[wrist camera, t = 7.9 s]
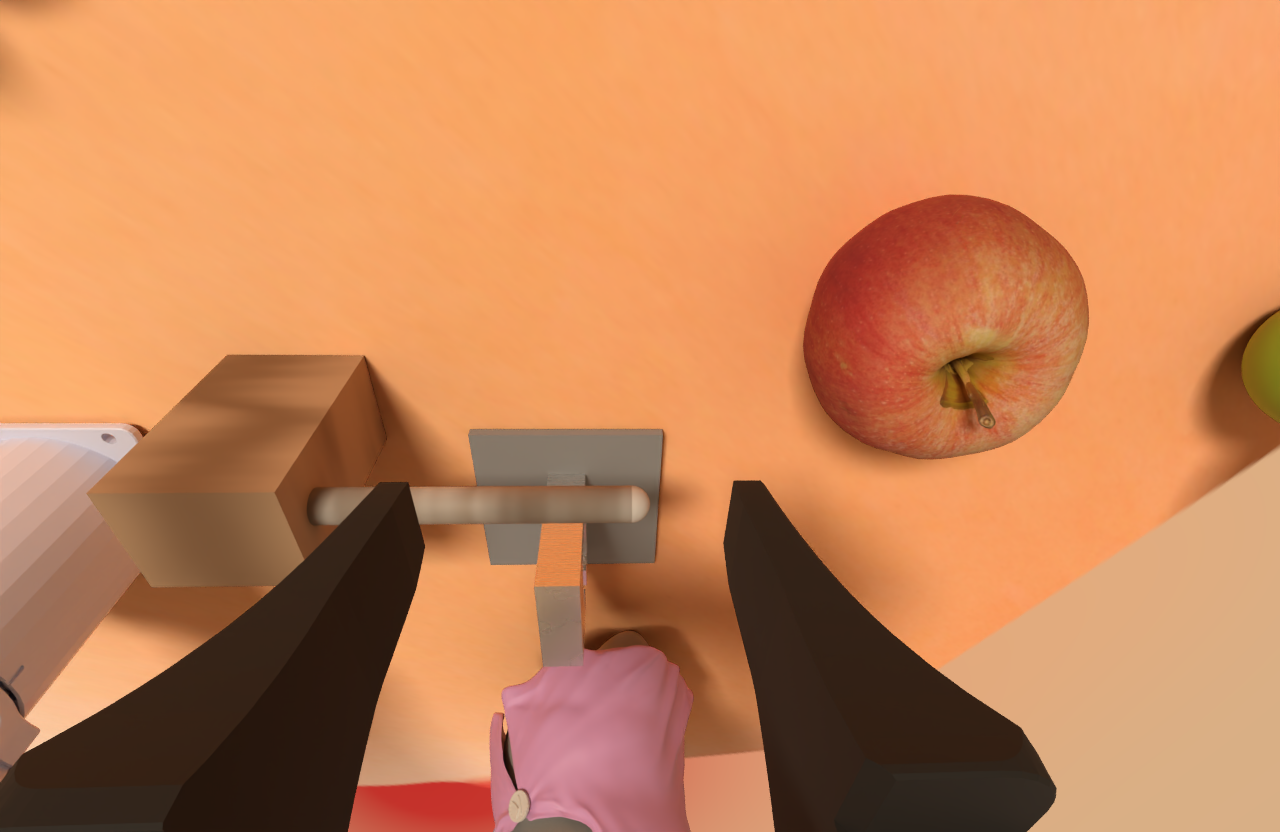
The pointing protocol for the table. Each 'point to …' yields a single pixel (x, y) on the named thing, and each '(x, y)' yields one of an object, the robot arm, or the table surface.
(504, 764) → the toy character
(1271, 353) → the snail figurine
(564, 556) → the link
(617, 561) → the mat
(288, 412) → the stand
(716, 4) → the table surface
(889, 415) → the apple
